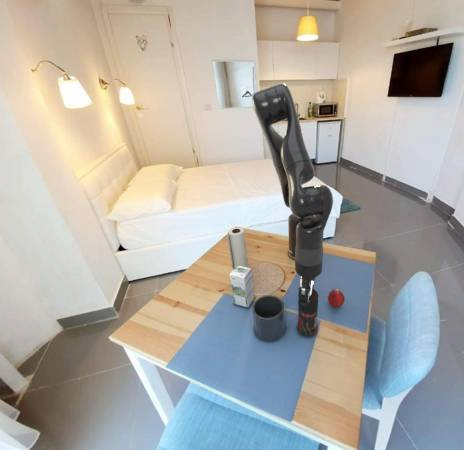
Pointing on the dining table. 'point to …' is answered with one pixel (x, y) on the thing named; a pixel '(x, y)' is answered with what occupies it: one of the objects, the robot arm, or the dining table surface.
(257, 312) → the dark grey cup
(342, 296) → the onion
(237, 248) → the paper towel roll
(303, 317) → the deodorant
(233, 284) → the syrup box
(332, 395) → the dining table surface
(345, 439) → the dining table surface
